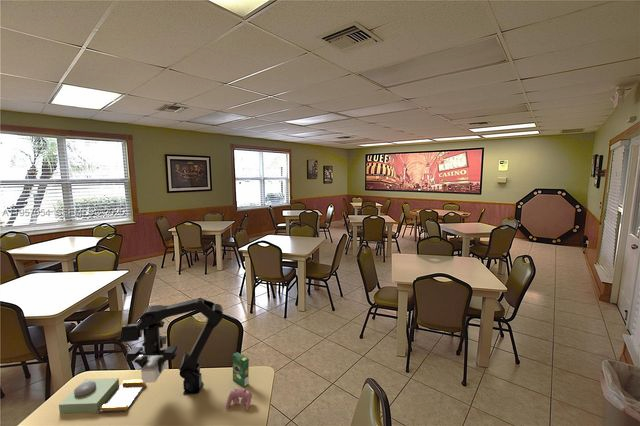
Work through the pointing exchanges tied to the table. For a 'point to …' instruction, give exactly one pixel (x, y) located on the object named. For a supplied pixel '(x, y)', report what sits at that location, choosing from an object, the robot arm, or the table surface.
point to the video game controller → (237, 393)
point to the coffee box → (240, 369)
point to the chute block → (151, 370)
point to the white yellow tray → (123, 397)
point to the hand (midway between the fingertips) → (153, 372)
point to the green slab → (89, 396)
